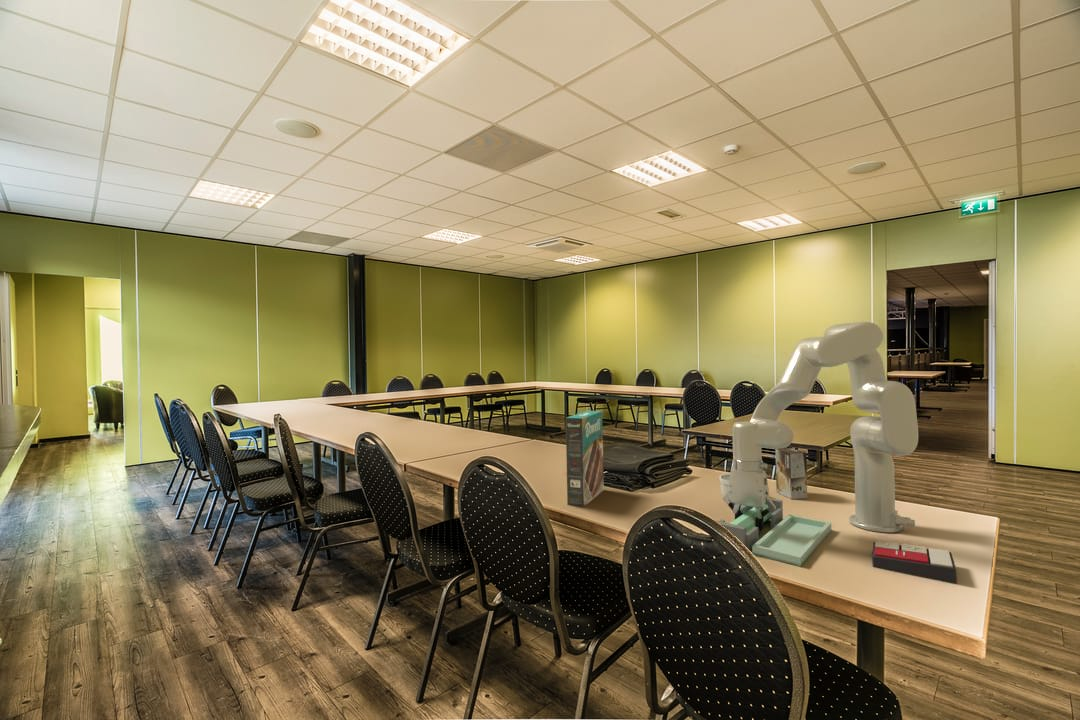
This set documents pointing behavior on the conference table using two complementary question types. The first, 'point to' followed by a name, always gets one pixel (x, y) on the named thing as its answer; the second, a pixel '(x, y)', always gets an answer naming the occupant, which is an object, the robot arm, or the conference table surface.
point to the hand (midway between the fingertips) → (749, 528)
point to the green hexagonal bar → (750, 519)
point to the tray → (792, 540)
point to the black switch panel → (914, 560)
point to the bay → (753, 534)
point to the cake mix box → (584, 457)
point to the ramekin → (724, 483)
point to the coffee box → (791, 473)
